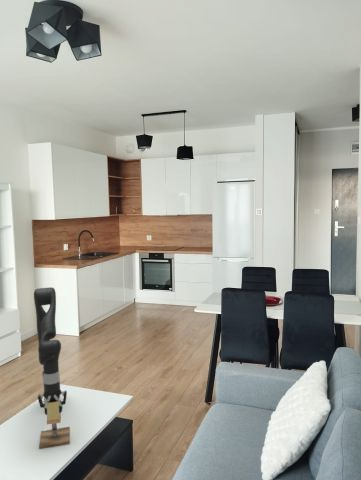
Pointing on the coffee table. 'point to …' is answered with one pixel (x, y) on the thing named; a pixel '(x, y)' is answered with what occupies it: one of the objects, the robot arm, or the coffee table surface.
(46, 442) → the post stand
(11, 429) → the coffee table surface
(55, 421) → the orange square ring
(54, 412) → the sleeve
